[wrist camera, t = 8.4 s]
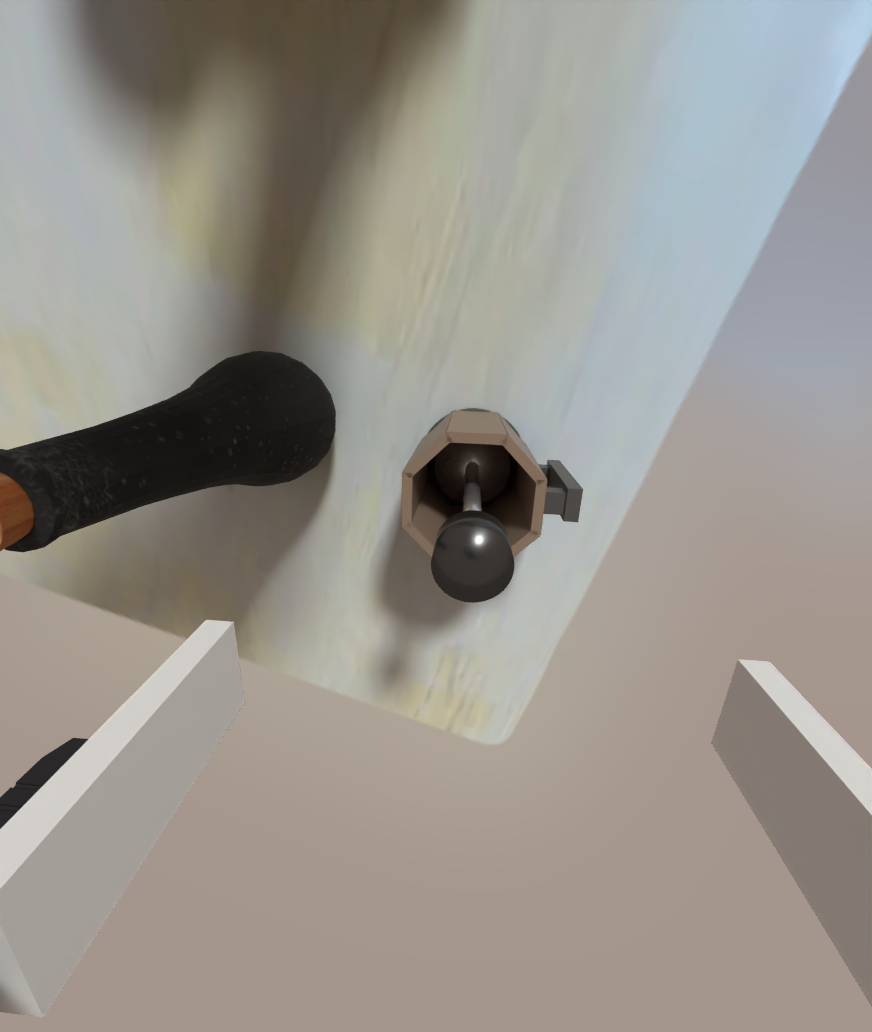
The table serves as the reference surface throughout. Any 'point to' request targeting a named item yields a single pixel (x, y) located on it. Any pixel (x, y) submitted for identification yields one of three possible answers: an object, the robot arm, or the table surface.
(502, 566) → the plunger
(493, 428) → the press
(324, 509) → the table surface
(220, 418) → the bottle
